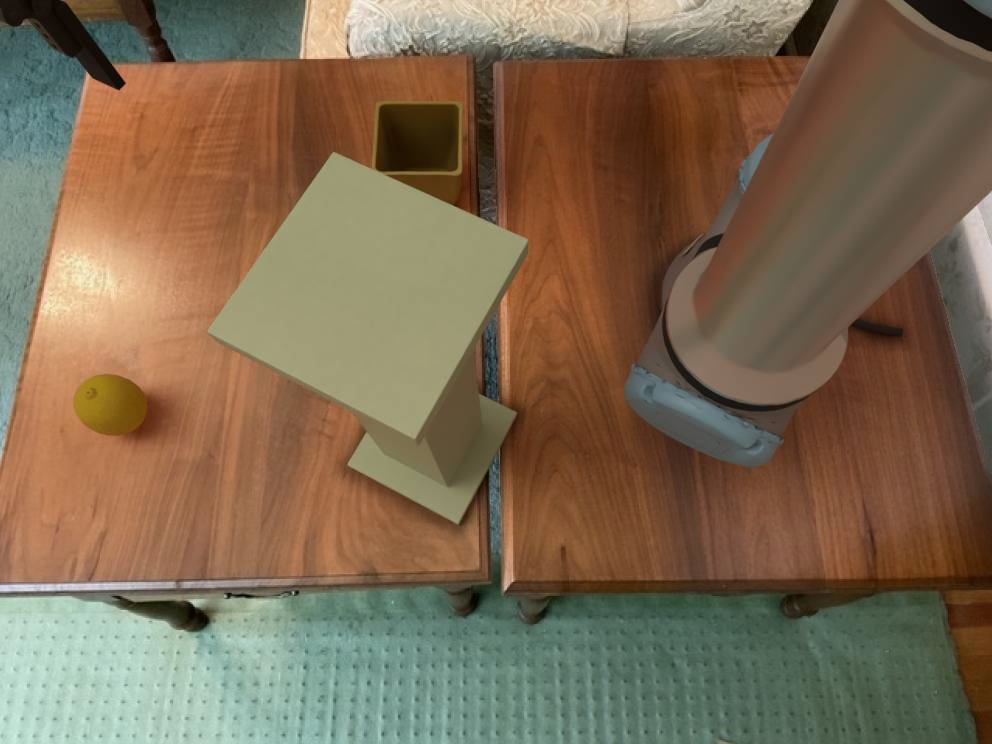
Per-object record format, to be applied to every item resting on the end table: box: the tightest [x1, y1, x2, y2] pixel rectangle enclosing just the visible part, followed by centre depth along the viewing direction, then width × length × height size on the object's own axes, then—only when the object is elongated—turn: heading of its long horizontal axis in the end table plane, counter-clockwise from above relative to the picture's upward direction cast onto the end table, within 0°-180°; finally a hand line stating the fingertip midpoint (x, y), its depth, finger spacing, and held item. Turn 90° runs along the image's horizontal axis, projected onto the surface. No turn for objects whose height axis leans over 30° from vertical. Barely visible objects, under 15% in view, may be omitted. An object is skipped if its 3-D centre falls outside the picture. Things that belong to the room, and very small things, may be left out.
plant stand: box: [206, 151, 530, 526], centre depth 51 cm, size 12×12×34 cm
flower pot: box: [371, 100, 464, 206], centre depth 72 cm, size 9×9×9 cm
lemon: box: [72, 373, 149, 437], centre depth 65 cm, size 6×6×8 cm
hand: (171, 18), depth 52 cm, fingers open, 13 cm apart
